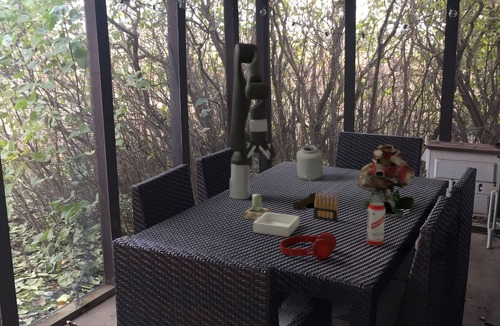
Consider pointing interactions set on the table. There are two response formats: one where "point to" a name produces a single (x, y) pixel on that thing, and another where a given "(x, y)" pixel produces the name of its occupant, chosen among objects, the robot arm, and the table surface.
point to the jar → (309, 163)
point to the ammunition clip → (326, 208)
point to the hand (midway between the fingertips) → (259, 166)
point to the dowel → (256, 203)
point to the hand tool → (304, 201)
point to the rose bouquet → (387, 179)
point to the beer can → (375, 223)
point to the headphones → (319, 248)
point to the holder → (254, 213)
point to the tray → (276, 224)
